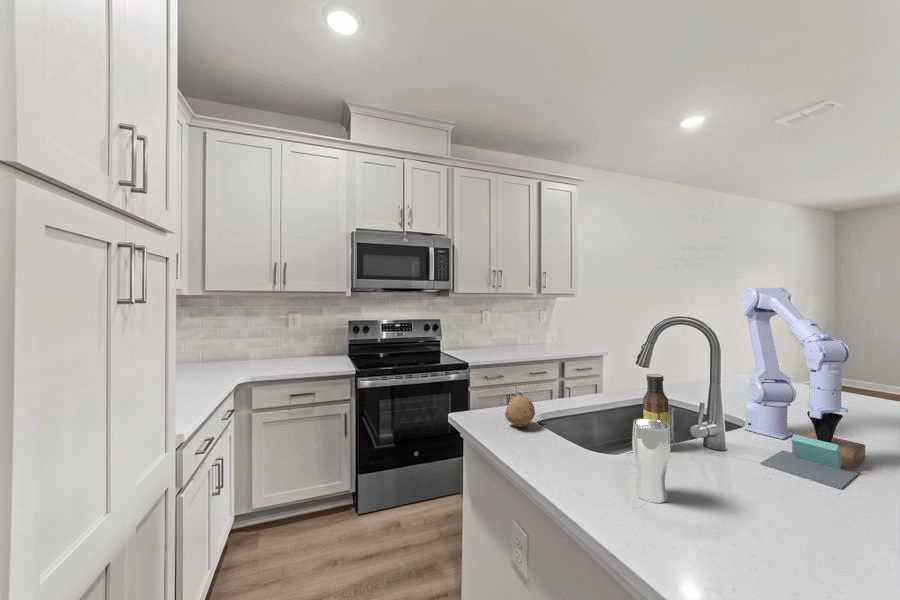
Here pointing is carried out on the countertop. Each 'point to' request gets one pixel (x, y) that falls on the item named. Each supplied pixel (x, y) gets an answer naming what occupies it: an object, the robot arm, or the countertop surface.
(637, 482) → the beer glass
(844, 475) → the mat
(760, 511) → the countertop surface
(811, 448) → the tile
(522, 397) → the tan round lump
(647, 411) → the sauce bottle
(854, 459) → the block
